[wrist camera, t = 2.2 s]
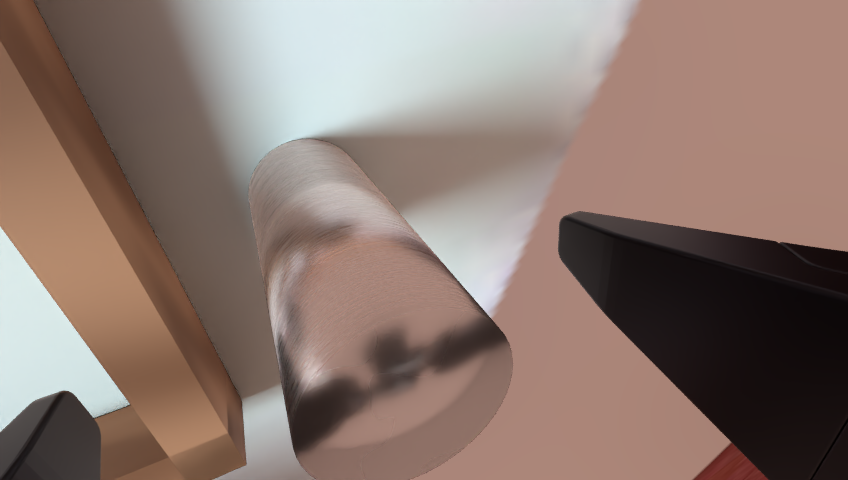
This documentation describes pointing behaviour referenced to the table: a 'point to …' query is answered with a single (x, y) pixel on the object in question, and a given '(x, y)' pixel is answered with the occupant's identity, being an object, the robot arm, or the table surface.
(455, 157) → the table surface
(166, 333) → the dock
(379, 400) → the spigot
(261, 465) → the table surface
